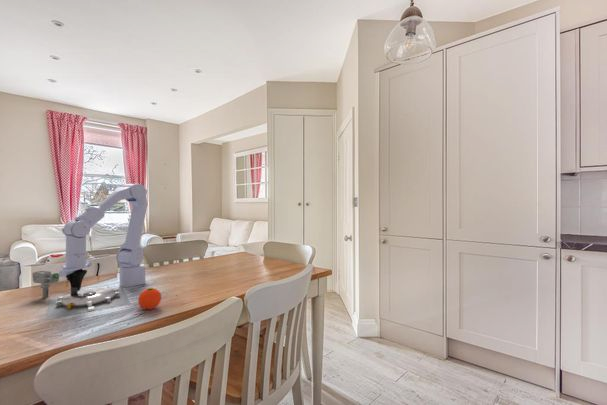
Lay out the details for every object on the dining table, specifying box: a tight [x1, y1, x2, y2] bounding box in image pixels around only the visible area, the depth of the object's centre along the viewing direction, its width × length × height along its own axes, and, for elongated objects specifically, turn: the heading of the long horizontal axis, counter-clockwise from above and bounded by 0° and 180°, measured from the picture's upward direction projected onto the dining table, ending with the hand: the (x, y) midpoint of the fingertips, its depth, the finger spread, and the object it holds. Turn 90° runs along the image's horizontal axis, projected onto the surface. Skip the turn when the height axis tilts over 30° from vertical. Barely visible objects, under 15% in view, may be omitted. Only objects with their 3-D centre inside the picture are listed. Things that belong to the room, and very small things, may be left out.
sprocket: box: [56, 286, 120, 309], centre depth 101 cm, size 18×19×4 cm
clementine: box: [138, 287, 162, 310], centre depth 96 cm, size 8×7×7 cm
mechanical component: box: [31, 270, 60, 298], centre depth 103 cm, size 3×10×10 cm, turn 79°
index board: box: [44, 286, 131, 321], centre depth 100 cm, size 22×24×2 cm
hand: (75, 290), depth 102 cm, fingers closed, pressing on sprocket
